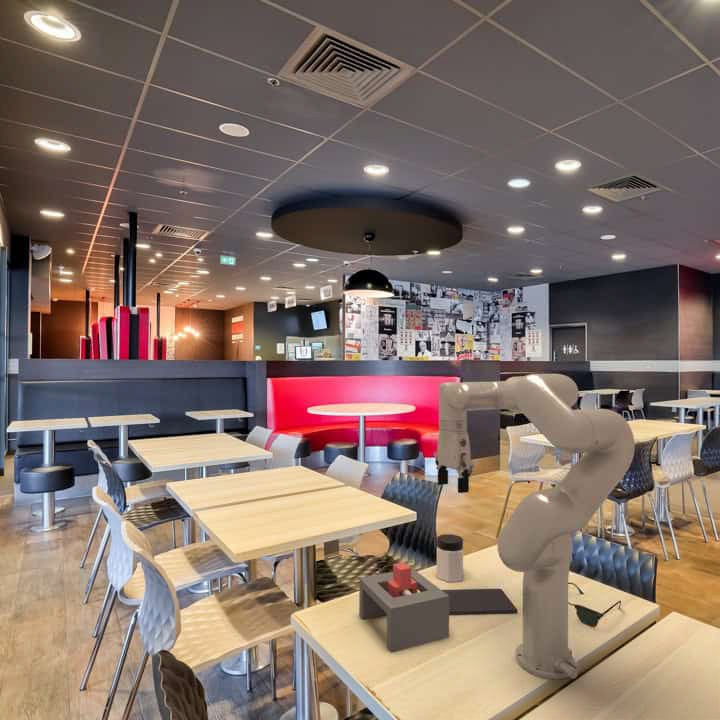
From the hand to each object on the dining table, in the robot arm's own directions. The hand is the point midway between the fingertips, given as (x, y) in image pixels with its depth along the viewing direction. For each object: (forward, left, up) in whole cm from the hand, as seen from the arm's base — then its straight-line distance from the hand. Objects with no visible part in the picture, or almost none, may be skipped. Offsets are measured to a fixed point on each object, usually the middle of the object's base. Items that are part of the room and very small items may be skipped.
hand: (452, 488), depth 135 cm
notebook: (-1, -6, -33) cm, 34 cm away
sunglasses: (-16, -32, -33) cm, 49 cm away
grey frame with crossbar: (-4, +18, -32) cm, 37 cm away
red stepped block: (-4, +18, -30) cm, 35 cm away
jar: (+16, -10, -32) cm, 38 cm away
